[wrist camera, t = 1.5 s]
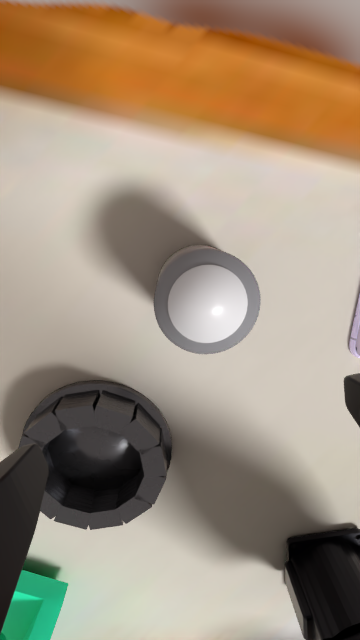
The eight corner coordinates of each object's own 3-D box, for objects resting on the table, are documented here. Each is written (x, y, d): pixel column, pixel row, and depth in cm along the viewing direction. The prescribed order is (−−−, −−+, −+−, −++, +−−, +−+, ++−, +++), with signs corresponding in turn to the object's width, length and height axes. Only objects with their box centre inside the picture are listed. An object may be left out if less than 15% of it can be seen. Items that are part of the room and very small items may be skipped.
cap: (235, 239, 20) (257, 242, 15) (242, 319, 21) (264, 347, 16) (150, 251, 20) (145, 259, 15) (164, 331, 21) (163, 362, 16)
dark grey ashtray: (159, 370, 22) (158, 388, 19) (180, 492, 25) (182, 521, 23) (6, 392, 22) (-15, 413, 19) (47, 512, 25) (33, 543, 23)
